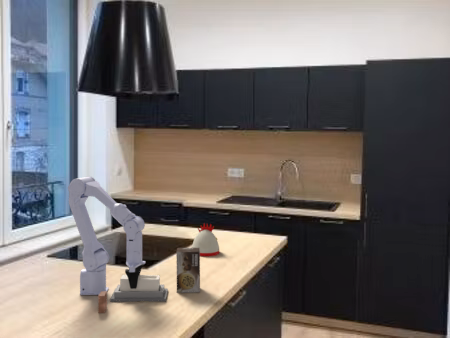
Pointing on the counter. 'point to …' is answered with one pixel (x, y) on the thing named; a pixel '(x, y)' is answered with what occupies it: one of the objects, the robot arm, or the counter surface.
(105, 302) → the terracotta flat slab
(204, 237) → the kitchen timer
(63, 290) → the counter surface
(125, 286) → the white hollow block
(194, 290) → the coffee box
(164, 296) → the cradle
